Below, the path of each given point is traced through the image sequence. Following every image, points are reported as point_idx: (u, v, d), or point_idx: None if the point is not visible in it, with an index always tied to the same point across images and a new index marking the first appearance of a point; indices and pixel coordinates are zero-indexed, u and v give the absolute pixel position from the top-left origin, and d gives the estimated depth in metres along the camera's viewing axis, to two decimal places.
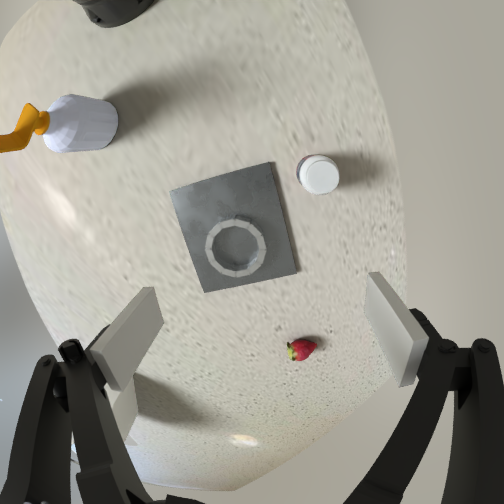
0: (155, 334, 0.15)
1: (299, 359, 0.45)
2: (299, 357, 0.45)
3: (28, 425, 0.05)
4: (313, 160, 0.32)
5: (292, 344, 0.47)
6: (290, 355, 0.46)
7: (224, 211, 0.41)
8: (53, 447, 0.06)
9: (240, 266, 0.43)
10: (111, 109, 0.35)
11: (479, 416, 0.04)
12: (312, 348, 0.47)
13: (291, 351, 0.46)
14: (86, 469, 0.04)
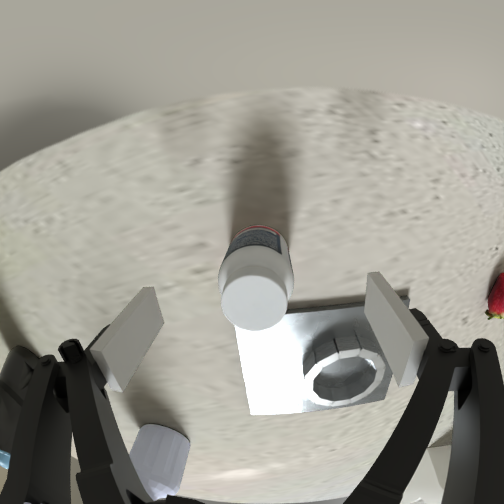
0: (155, 334, 0.15)
1: None
2: None
3: (28, 426, 0.05)
4: None
5: (491, 311, 0.22)
6: None
7: (293, 375, 0.28)
8: (53, 447, 0.06)
9: (371, 368, 0.26)
10: (149, 431, 0.33)
11: (479, 416, 0.04)
12: None
13: (498, 316, 0.21)
14: (86, 469, 0.04)
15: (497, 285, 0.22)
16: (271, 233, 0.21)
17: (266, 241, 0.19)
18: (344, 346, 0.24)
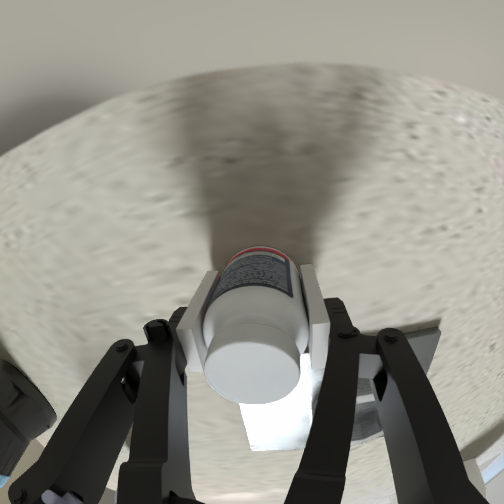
0: None
1: None
2: None
3: (80, 414, 0.07)
4: None
5: None
6: None
7: (300, 415, 0.22)
8: (103, 440, 0.07)
9: None
10: None
11: (404, 407, 0.06)
12: None
13: None
14: (135, 460, 0.05)
15: None
16: (278, 260, 0.15)
17: (271, 278, 0.13)
18: (363, 389, 0.18)
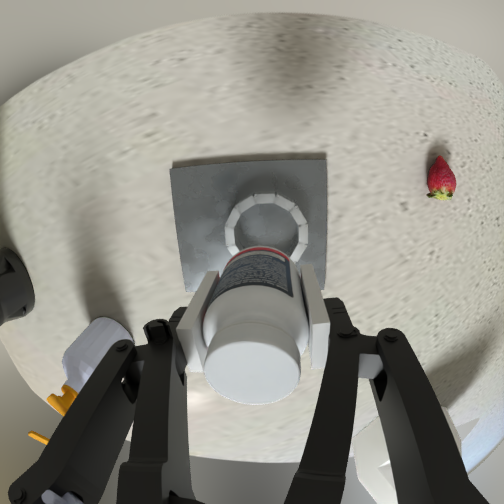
0: None
1: (453, 186, 0.24)
2: (450, 185, 0.24)
3: (80, 414, 0.07)
4: None
5: (430, 189, 0.27)
6: (444, 197, 0.26)
7: (220, 235, 0.32)
8: (103, 440, 0.07)
9: (297, 233, 0.31)
10: (96, 322, 0.38)
11: (404, 407, 0.06)
12: (443, 163, 0.25)
13: (439, 194, 0.26)
14: (135, 460, 0.05)
15: (433, 165, 0.26)
16: (278, 260, 0.15)
17: (271, 277, 0.13)
18: (260, 193, 0.29)
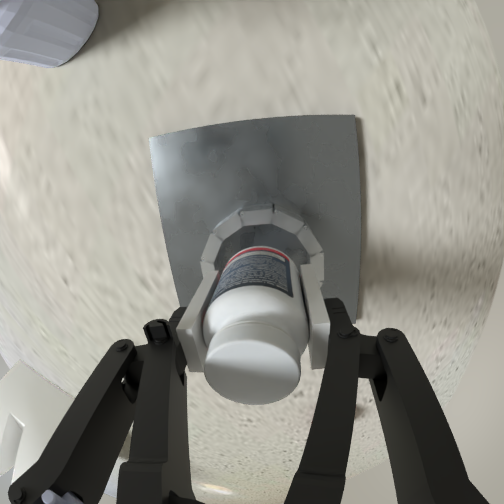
0: None
1: None
2: None
3: (80, 414, 0.07)
4: None
5: None
6: None
7: (251, 192, 0.20)
8: (103, 440, 0.07)
9: None
10: (90, 4, 0.13)
11: (404, 407, 0.06)
12: None
13: None
14: (135, 460, 0.05)
15: None
16: (278, 260, 0.15)
17: (271, 277, 0.13)
18: None
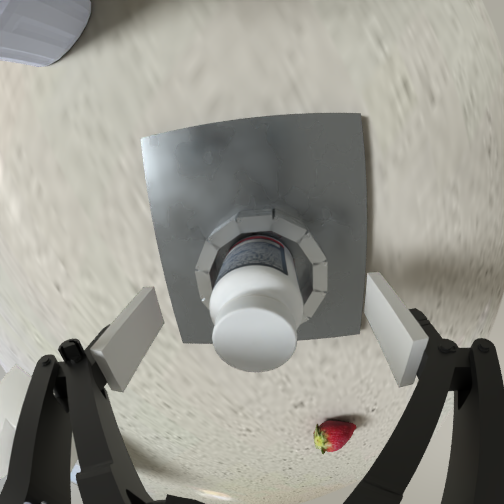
0: (155, 334, 0.15)
1: (331, 451, 0.24)
2: (332, 449, 0.23)
3: (28, 425, 0.05)
4: None
5: (325, 430, 0.25)
6: (318, 444, 0.25)
7: (249, 196, 0.19)
8: (53, 447, 0.06)
9: None
10: (82, 0, 0.12)
11: (479, 416, 0.04)
12: (351, 434, 0.25)
13: (322, 440, 0.24)
14: (86, 469, 0.04)
15: (348, 425, 0.26)
16: (274, 246, 0.17)
17: (268, 259, 0.15)
18: None
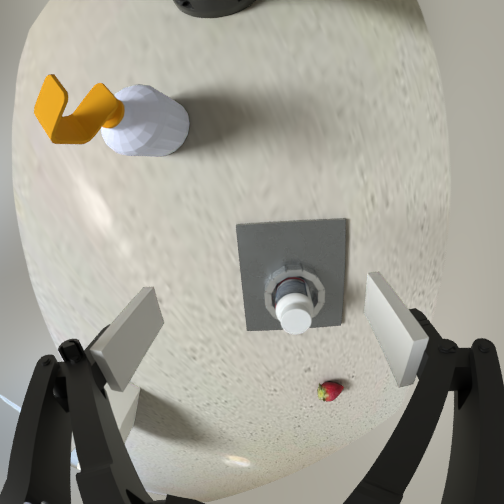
0: (155, 334, 0.15)
1: (328, 400, 0.44)
2: (329, 398, 0.44)
3: (28, 425, 0.05)
4: (280, 317, 0.36)
5: (324, 386, 0.46)
6: (321, 396, 0.45)
7: (290, 258, 0.40)
8: (53, 447, 0.06)
9: None
10: (185, 115, 0.34)
11: (479, 416, 0.04)
12: (340, 391, 0.46)
13: (323, 392, 0.45)
14: (86, 469, 0.04)
15: (338, 384, 0.47)
16: (301, 282, 0.39)
17: (300, 289, 0.36)
18: None
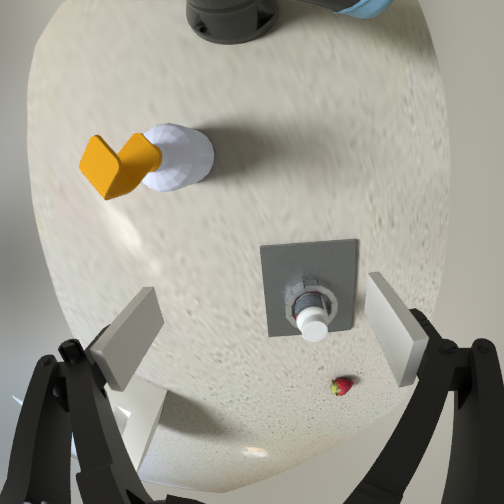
0: (155, 334, 0.15)
1: (340, 394, 0.50)
2: (341, 393, 0.50)
3: (28, 425, 0.05)
4: (300, 327, 0.41)
5: (336, 382, 0.52)
6: (333, 391, 0.51)
7: (307, 274, 0.45)
8: (53, 447, 0.06)
9: None
10: (210, 147, 0.38)
11: (479, 416, 0.04)
12: (350, 386, 0.52)
13: (335, 388, 0.51)
14: (86, 469, 0.04)
15: (348, 380, 0.52)
16: (317, 296, 0.44)
17: (317, 303, 0.41)
18: None
